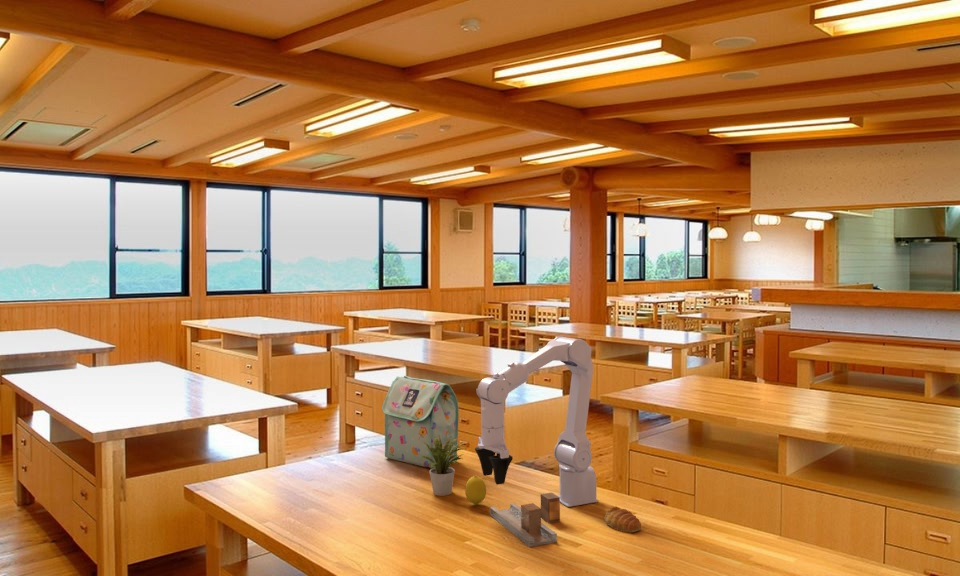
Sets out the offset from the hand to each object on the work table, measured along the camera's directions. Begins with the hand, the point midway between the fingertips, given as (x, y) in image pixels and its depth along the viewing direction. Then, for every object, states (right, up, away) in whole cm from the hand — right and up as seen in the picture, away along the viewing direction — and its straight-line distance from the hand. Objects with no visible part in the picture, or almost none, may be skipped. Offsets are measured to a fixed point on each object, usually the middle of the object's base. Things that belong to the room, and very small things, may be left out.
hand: (493, 479), depth 176 cm
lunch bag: (-23, -8, +52) cm, 57 cm away
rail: (+7, -10, -6) cm, 14 cm away
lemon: (-5, -10, +9) cm, 14 cm away
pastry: (+31, -10, -6) cm, 33 cm away
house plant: (-14, -9, +18) cm, 25 cm away
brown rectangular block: (+14, -10, -1) cm, 17 cm away
